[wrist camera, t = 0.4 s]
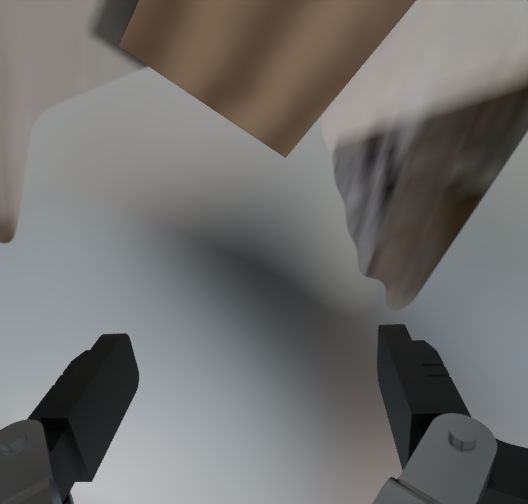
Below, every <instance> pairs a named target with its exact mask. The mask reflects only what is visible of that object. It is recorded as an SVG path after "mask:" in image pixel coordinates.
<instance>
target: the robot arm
mask: <svg viewBox="0 0 528 504" xmlns="http://www.w3.org/2000/svg"><path fill="white" fill-rule="evenodd" d="M377 374H378V381H379V386H380V390H381V394H382V397H383V401H384V405H385V408H386V411H387V415H388V419H389V423H390V426H391V430H392V433H393V437H394V441H395V444H396V448H397V452H398V455H399V459H400V463H401V466H402V470H403V472H402V473H401V475H400V477H399V478H398V479H395V478H393V477H391V478H389V479H388V480H387V481H386V482H385V484H384V485H383V487H382V488H381V490H380V492H379V493H378V495H377V497H376V498H375V500H374V502H373V503H372V504H528V448H524V447H519V446H516V445H511V444H508V443H505V442H503V441H500V440H498V439H496V438H495V437H494V435H493V434H492V432H491V431H490V430H489V429H488V428H487V427H486V426H485V425H483V424H482V423H481V422H479V421H478V420H476V419H474V418H472V417H471V416H470V414H469V412H468V410H467V408H466V406H465V404H464V402H463V400H462V398H461V396H460V394H459V393H458V390H457V389H456V387H455V385H454V383H453V381H452V379H451V377H449V373H448V371H447V369H446V368H445V366H444V364H443V362H442V360H441V358H440V356H439V354H438V352H437V351H436V350H435V349H434V348H433V347H432V346H430V345H429V344H428V343H427V342H425V341H424V340H417V341H412V340H411V337H410V335H409V333H408V330H407V328H406V326H405V325H404V324H395V325H379V327H378V350H377ZM138 383H139V371H138V367H137V363H136V360H135V356H134V352H133V349H132V345H131V341H130V338H129V336H128V335H127V334H125V333H123V334H103V335H101V336H100V337H99V339H98V340H97V341H96V343H95V344H94V345H93V347H92V348H91V350H86V351H84V352H83V353H82V354H80V355H79V356H78V357H76V358H75V359H74V360H72V361H71V363H70V364H69V365H68V367H67V368H66V369H65V371H64V372H63V375H61V376H60V377H59V379H58V380H57V381H56V383H55V385H53V386H52V388H51V389H50V390H49V391H48V393H47V394H46V395H45V397H44V398H43V399H42V401H41V402H40V403H39V405H38V406H37V407H36V408H35V410H34V411H33V412H32V414H31V415H30V416H29V417H28V419H27V420H22V421H18V422H15V423H13V424H10V425H9V426H6V427H5V428H3V429H1V430H0V504H74V503H73V498H72V495H71V493H70V490H71V488H72V487H73V484H74V483H75V482H92V480H93V478H94V476H95V474H96V472H97V470H98V468H99V466H100V464H101V462H102V460H103V458H104V456H105V454H106V452H107V450H108V448H109V446H110V444H111V441H112V439H113V438H114V435H115V433H116V431H117V429H118V427H119V425H120V423H121V421H122V419H123V417H124V415H125V413H126V411H127V409H128V407H129V405H130V403H131V401H132V399H133V397H134V395H135V393H136V391H137V388H138Z"/></svg>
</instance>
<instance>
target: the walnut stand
mask: <svg viewBox="0 0 528 504" xmlns="http://www.w3.org/2000/svg"><path fill="white" fill-rule="evenodd" d="M415 1H416V0H139V1H138V4H137V6H136V8H135V10H134V13H133V15H132V17H131V19H130V22H129V24H128V26H127V28H126V31H125V33H124V35H123V37H122V39H121V42H120V44H119V47H121V48H122V49H124V50H125V51H127V52H128V53H130V54H131V55H133V56H134V57H136V58H137V59H139V60H140V61H142V62H143V63H145V64H146V65H148V66H149V67H151V68H152V69H154V70H155V71H157V72H158V73H160V74H161V75H163V76H164V77H165V78H167V79H168V80H170V81H172V82H173V83H175V84H176V85H178V86H179V87H180V88H182V89H184V90H185V91H186V92H188V93H189V94H191V95H193V96H194V97H196V98H197V99H198V100H200V101H201V102H203V103H204V104H206V105H207V106H209V107H210V108H212V109H213V110H215V111H216V112H218V113H219V114H221V115H222V116H224V117H225V118H227V119H228V120H230V121H231V122H233V123H234V124H236V125H237V126H239V127H240V128H242V129H243V130H245V131H246V132H248V133H249V134H251V135H252V136H254V137H255V138H257V139H258V140H260V141H261V142H263V143H264V144H266V145H267V146H269V147H270V148H272V149H273V150H275V151H276V152H278V153H279V154H281V155H282V156H284V157H285V158H286V157H287V156H288V154H289V153H290V152H291V151H292V150H293V148H294V147H295V146H296V145H297V144H298V142H299V141H300V140H301V139H302V138H303V136H304V135H305V134H306V133H307V131H308V130H309V129H310V128H311V127H312V126H313V124H314V123H315V122H316V121H317V119H318V118H319V117H320V116H321V115H322V113H323V112H324V111H325V110H326V109H327V107H328V106H329V105H330V104H331V103H332V101H333V100H334V99H335V98H336V97H337V95H338V94H339V93H340V92H341V91H342V89H343V88H344V87H345V86H346V84H347V83H348V82H349V81H350V80H351V78H352V77H353V76H354V75H355V74H356V72H357V71H358V70H359V69H360V68H361V66H362V65H363V64H364V63H365V62H366V60H367V59H368V58H369V57H370V56H371V54H372V53H373V52H374V51H375V49H376V48H377V47H378V46H379V45H380V43H381V42H382V41H383V40H384V39H385V37H386V36H387V35H388V34H389V33H390V31H391V30H392V29H393V28H394V27H395V25H396V24H397V23H398V22H399V21H400V19H401V18H402V17H403V16H404V14H405V13H406V12H407V11H408V10H409V8H410V7H411V6H412V5H413V4H414V2H415Z"/></svg>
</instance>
